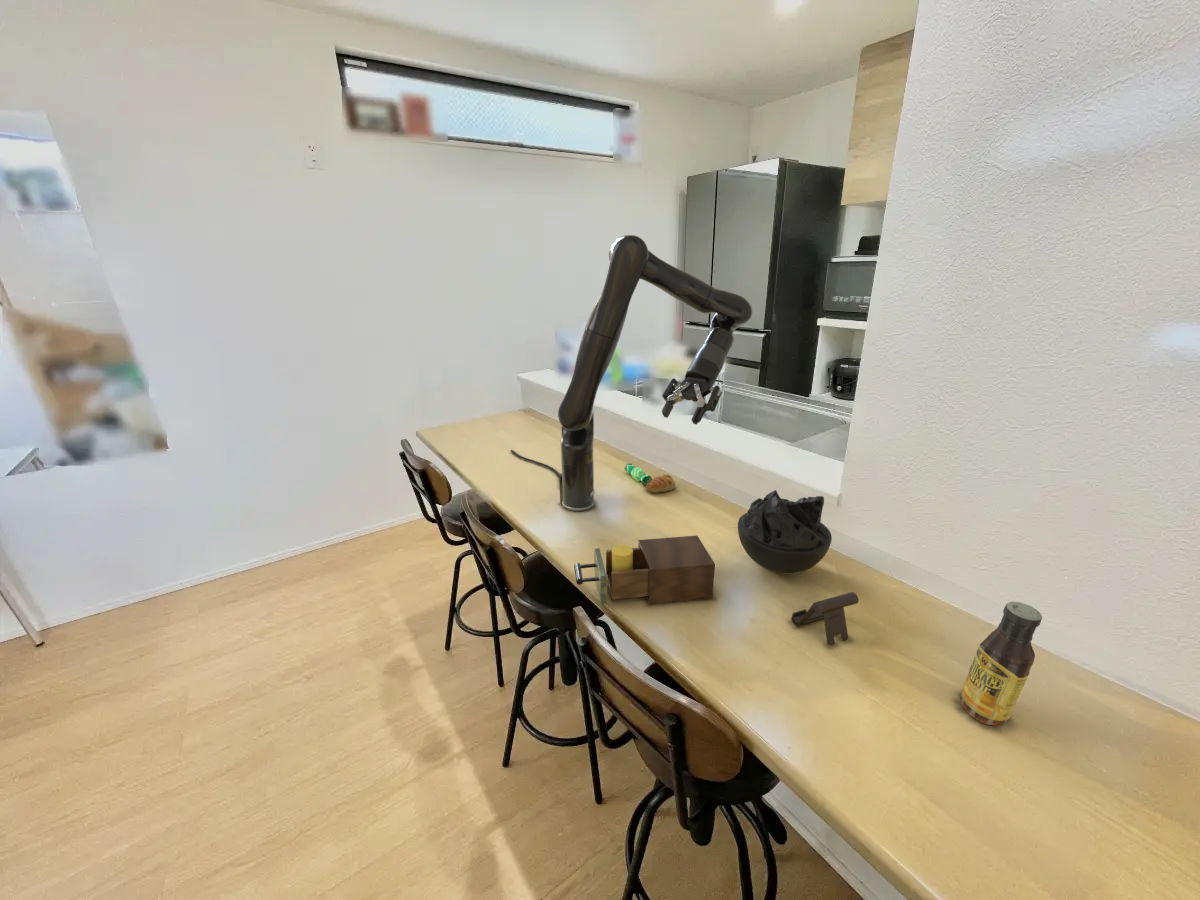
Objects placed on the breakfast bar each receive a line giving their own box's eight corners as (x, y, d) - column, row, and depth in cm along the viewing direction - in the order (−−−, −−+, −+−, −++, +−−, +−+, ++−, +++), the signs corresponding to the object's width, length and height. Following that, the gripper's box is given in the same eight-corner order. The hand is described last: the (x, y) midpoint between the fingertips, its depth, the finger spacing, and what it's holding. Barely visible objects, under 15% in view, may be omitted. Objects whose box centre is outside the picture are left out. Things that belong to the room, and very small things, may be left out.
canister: (607, 583, 106) (607, 551, 103) (619, 573, 109) (620, 542, 106) (624, 591, 103) (625, 558, 100) (636, 581, 106) (637, 549, 104)
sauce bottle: (949, 696, 80) (981, 594, 73) (985, 693, 80) (1020, 592, 73) (981, 732, 73) (1020, 624, 67) (1020, 729, 74) (1062, 621, 67)
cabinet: (649, 605, 102) (650, 569, 99) (637, 572, 113) (638, 540, 110) (712, 598, 104) (715, 564, 101) (695, 567, 114) (697, 535, 111)
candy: (622, 471, 166) (628, 460, 166) (629, 474, 168) (635, 464, 168) (640, 484, 156) (646, 473, 156) (647, 488, 158) (654, 477, 158)
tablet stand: (826, 611, 100) (832, 576, 97) (857, 636, 93) (865, 599, 90) (790, 621, 97) (796, 585, 94) (820, 648, 90) (827, 610, 87)
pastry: (655, 496, 150) (656, 485, 149) (640, 489, 155) (640, 478, 154) (676, 488, 155) (677, 477, 154) (661, 481, 160) (661, 470, 159)
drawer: (578, 606, 100) (577, 578, 98) (573, 576, 110) (572, 550, 108) (660, 598, 102) (661, 570, 100) (648, 570, 112) (649, 544, 110)
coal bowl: (720, 571, 113) (726, 497, 106) (752, 535, 128) (760, 468, 121) (810, 604, 101) (824, 524, 95) (834, 561, 116) (848, 488, 110)
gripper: (677, 353, 126) (649, 405, 122) (727, 359, 117) (699, 416, 113) (687, 371, 132) (661, 421, 128) (736, 378, 123) (709, 432, 119)
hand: (678, 419), depth 120 cm, fingers open, 8 cm apart
